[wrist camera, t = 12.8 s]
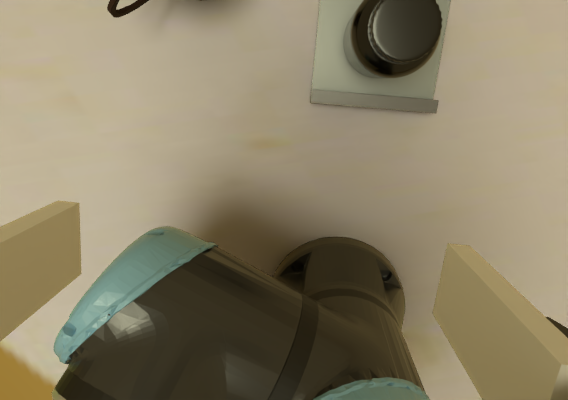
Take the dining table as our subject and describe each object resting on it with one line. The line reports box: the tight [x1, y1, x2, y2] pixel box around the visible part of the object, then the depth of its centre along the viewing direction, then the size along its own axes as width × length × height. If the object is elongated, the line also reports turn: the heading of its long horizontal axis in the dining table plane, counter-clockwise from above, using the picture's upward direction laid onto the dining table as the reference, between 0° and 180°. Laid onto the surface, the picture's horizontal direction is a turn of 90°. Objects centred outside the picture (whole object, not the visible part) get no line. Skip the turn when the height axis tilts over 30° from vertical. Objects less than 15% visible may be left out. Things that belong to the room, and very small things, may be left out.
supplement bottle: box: [343, 0, 443, 78], centre depth 34 cm, size 7×7×12 cm
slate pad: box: [310, 0, 451, 113], centre depth 39 cm, size 12×12×2 cm
